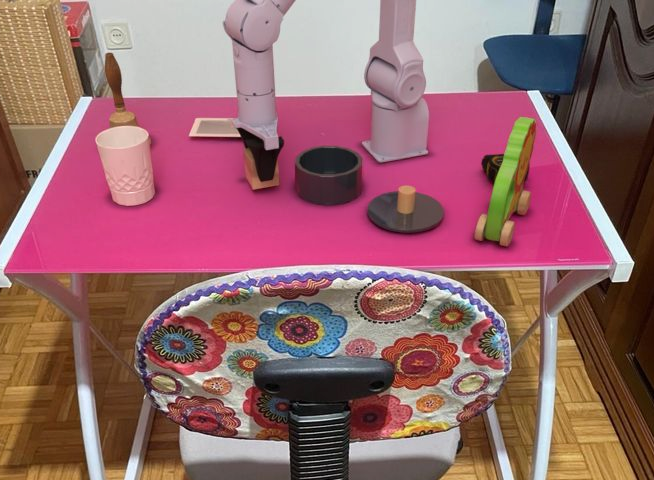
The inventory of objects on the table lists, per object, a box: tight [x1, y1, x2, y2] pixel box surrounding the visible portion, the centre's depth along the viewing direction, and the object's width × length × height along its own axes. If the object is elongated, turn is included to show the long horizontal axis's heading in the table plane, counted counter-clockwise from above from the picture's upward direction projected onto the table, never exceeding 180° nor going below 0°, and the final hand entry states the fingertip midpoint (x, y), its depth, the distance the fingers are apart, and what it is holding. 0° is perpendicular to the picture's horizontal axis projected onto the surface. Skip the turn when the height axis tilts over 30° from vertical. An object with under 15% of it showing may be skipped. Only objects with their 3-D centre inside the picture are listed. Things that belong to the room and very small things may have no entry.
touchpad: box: [188, 117, 241, 138], centre depth 132 cm, size 8×15×2 cm, turn 88°
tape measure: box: [480, 153, 531, 183], centre depth 117 cm, size 7×7×4 cm
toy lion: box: [473, 116, 537, 248], centre depth 104 cm, size 16×5×15 cm, turn 155°
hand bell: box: [104, 52, 152, 146], centre depth 124 cm, size 8×8×16 cm
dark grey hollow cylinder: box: [294, 145, 363, 206], centre depth 115 cm, size 11×11×5 cm
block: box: [242, 147, 280, 190], centre depth 115 cm, size 4×4×5 cm
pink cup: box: [95, 126, 156, 207], centre depth 112 cm, size 8×8×10 cm
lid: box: [366, 184, 445, 234], centre depth 109 cm, size 12×12×4 cm
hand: (261, 172), depth 115 cm, fingers closed on block, 4 cm apart
